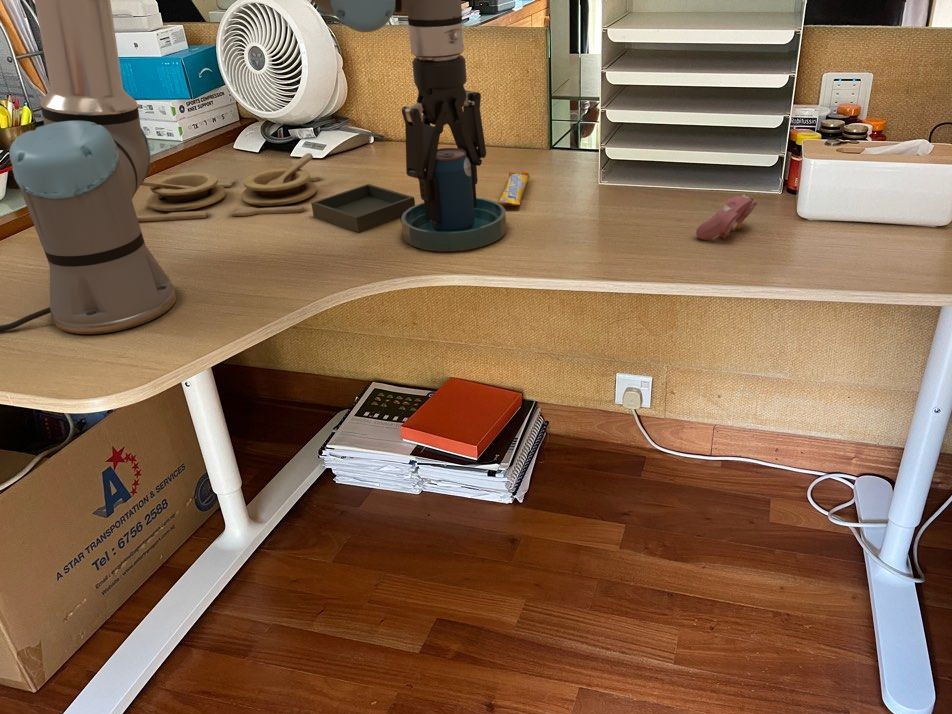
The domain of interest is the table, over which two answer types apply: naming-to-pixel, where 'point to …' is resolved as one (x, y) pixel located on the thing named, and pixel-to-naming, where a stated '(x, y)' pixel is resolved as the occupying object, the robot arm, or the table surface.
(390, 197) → the tray
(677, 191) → the table surface
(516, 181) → the candy bar
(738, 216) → the mauve toy shoe
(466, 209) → the soda can
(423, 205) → the teal round dish
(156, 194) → the tableware set
